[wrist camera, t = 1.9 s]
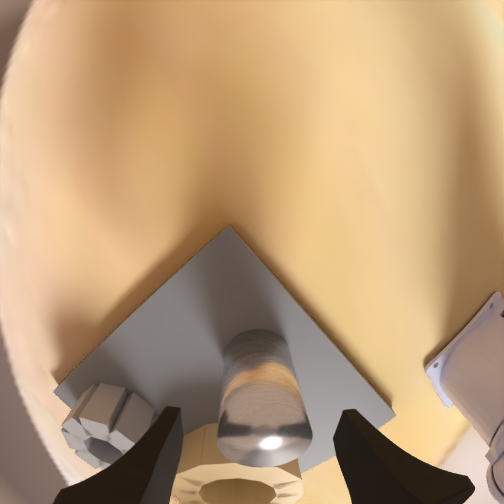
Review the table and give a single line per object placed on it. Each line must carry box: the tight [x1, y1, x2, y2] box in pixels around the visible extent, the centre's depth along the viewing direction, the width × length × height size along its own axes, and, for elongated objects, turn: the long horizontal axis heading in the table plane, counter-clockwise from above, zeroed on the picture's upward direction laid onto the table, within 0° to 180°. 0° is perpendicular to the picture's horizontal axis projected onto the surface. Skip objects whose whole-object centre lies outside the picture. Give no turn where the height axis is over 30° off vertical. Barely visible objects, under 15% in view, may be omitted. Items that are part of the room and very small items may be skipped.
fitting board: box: [54, 224, 396, 504], centre depth 17 cm, size 20×20×5 cm
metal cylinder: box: [217, 329, 313, 468], centre depth 14 cm, size 4×4×7 cm
